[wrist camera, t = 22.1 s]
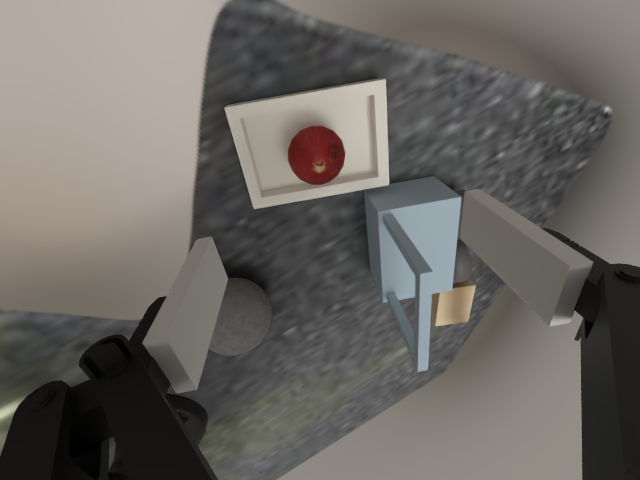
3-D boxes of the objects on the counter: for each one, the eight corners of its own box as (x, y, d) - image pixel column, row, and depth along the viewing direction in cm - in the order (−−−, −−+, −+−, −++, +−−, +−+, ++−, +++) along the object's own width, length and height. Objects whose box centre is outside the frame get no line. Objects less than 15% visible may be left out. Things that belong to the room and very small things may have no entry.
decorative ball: (206, 314, 46) (187, 372, 37) (202, 261, 41) (179, 312, 32) (271, 317, 47) (268, 373, 39) (275, 265, 42) (272, 315, 34)
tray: (255, 199, 37) (253, 209, 35) (229, 104, 32) (224, 107, 29) (382, 177, 37) (389, 185, 35) (378, 78, 32) (385, 79, 29)
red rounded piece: (330, 111, 32) (341, 124, 25) (345, 161, 35) (359, 185, 28) (279, 131, 33) (277, 149, 26) (299, 179, 36) (301, 206, 29)
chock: (422, 303, 49) (435, 326, 45) (425, 268, 45) (440, 290, 41) (452, 299, 49) (468, 321, 45) (458, 264, 46) (475, 285, 41)
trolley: (370, 278, 45) (412, 385, 30) (363, 188, 38) (414, 269, 23) (449, 264, 45) (530, 363, 30) (457, 171, 38) (570, 241, 23)
